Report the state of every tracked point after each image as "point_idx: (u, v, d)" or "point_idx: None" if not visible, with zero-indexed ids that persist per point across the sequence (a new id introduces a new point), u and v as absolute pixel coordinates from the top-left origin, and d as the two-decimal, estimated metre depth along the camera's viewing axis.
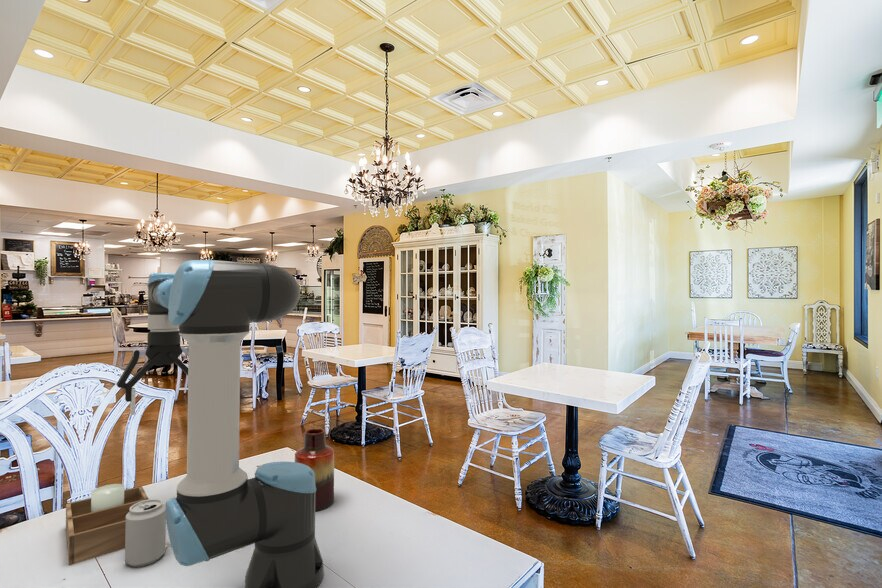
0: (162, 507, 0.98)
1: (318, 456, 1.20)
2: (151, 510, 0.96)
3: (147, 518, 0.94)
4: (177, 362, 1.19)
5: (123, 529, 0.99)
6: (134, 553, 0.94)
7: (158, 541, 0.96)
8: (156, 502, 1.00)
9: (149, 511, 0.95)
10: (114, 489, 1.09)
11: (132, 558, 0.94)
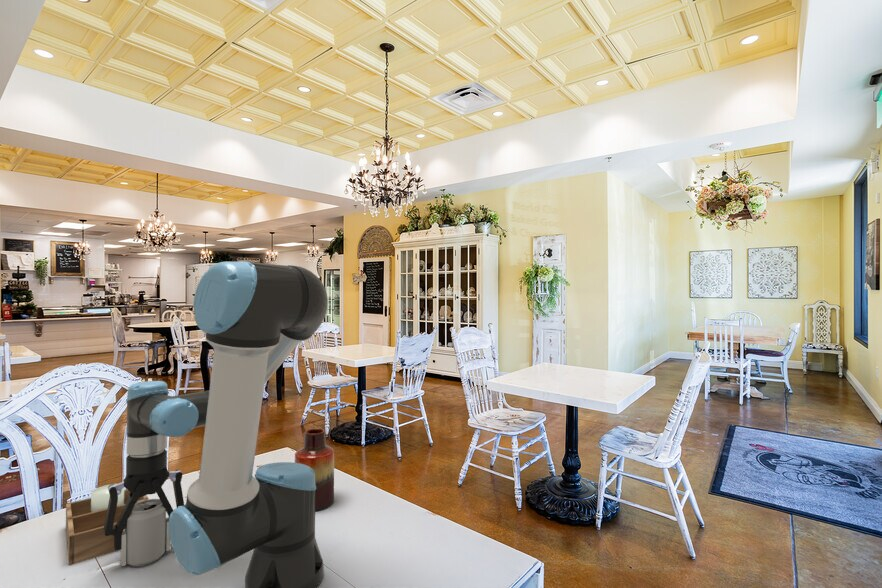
0: (162, 507, 0.98)
1: (318, 456, 1.20)
2: (151, 510, 0.96)
3: (147, 518, 0.94)
4: (158, 492, 0.98)
5: None
6: (134, 553, 0.94)
7: (158, 541, 0.96)
8: (156, 501, 1.00)
9: (149, 511, 0.95)
10: None
11: (132, 558, 0.94)
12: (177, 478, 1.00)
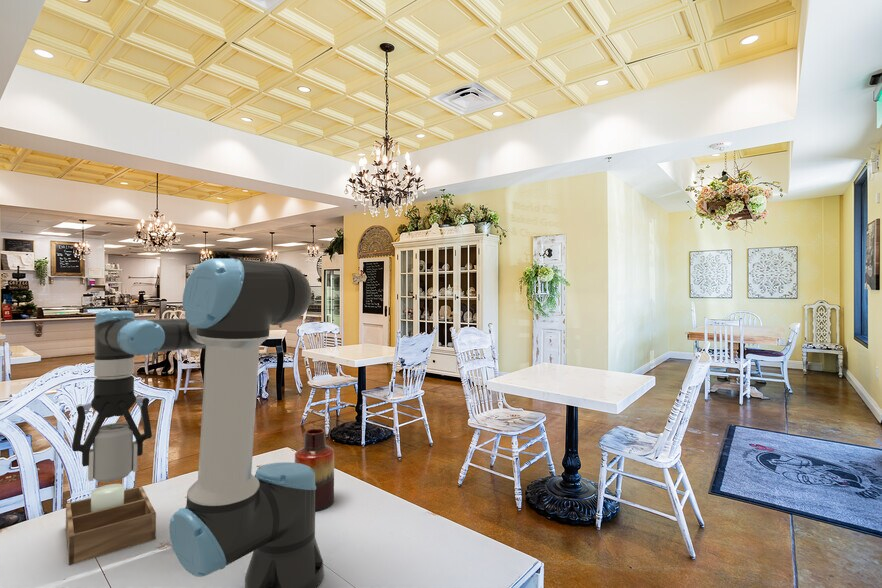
0: (129, 429, 1.03)
1: (318, 456, 1.20)
2: (117, 430, 1.01)
3: (113, 436, 1.00)
4: (125, 415, 1.03)
5: (123, 529, 0.99)
6: (101, 469, 0.99)
7: (124, 460, 1.01)
8: (124, 425, 1.05)
9: (115, 431, 1.00)
10: (114, 489, 1.09)
11: (99, 474, 0.99)
12: (144, 403, 1.06)
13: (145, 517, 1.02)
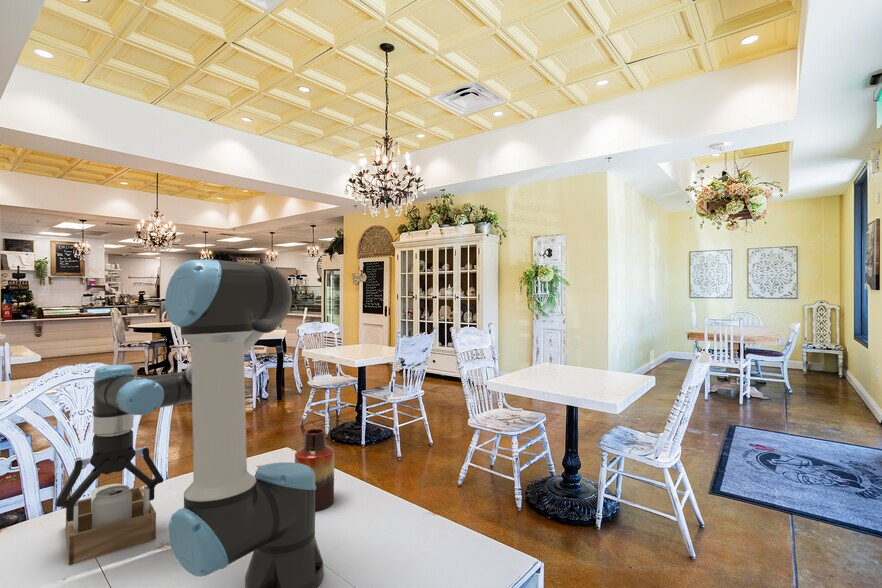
0: (128, 493, 1.03)
1: (318, 456, 1.20)
2: (116, 495, 1.00)
3: (112, 502, 0.99)
4: (128, 468, 1.03)
5: (123, 529, 0.99)
6: None
7: None
8: (123, 488, 1.05)
9: (114, 496, 1.00)
10: None
11: None
12: (144, 453, 1.06)
13: (145, 517, 1.02)
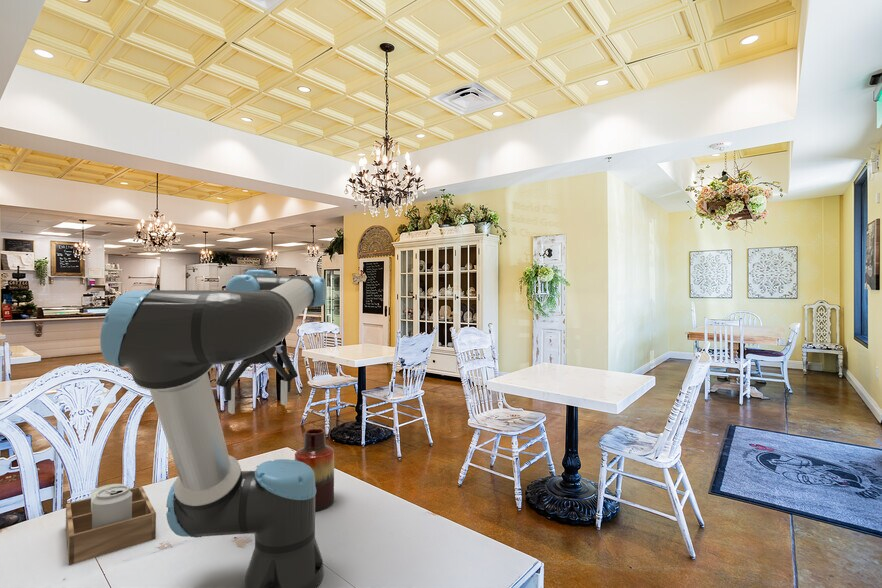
0: (128, 493, 1.03)
1: (318, 456, 1.20)
2: (117, 495, 1.00)
3: (112, 502, 0.99)
4: (272, 360, 1.17)
5: (123, 529, 0.99)
6: None
7: None
8: (123, 488, 1.05)
9: (114, 496, 1.00)
10: None
11: None
12: (283, 350, 1.19)
13: (145, 517, 1.02)
